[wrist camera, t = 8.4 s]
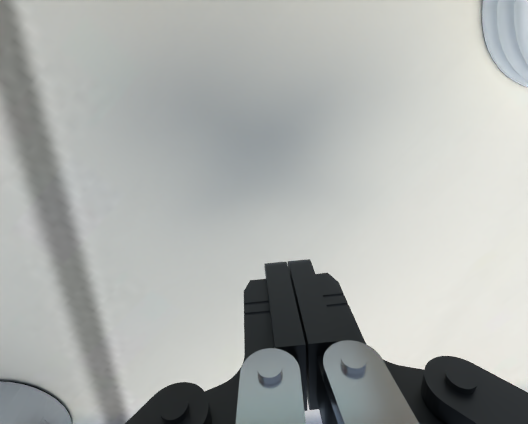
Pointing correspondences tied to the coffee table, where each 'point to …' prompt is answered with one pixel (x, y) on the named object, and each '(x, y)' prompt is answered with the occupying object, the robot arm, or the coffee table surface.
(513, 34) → the white jar lid
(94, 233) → the coffee table surface
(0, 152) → the coffee table surface
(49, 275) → the coffee table surface
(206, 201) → the coffee table surface
